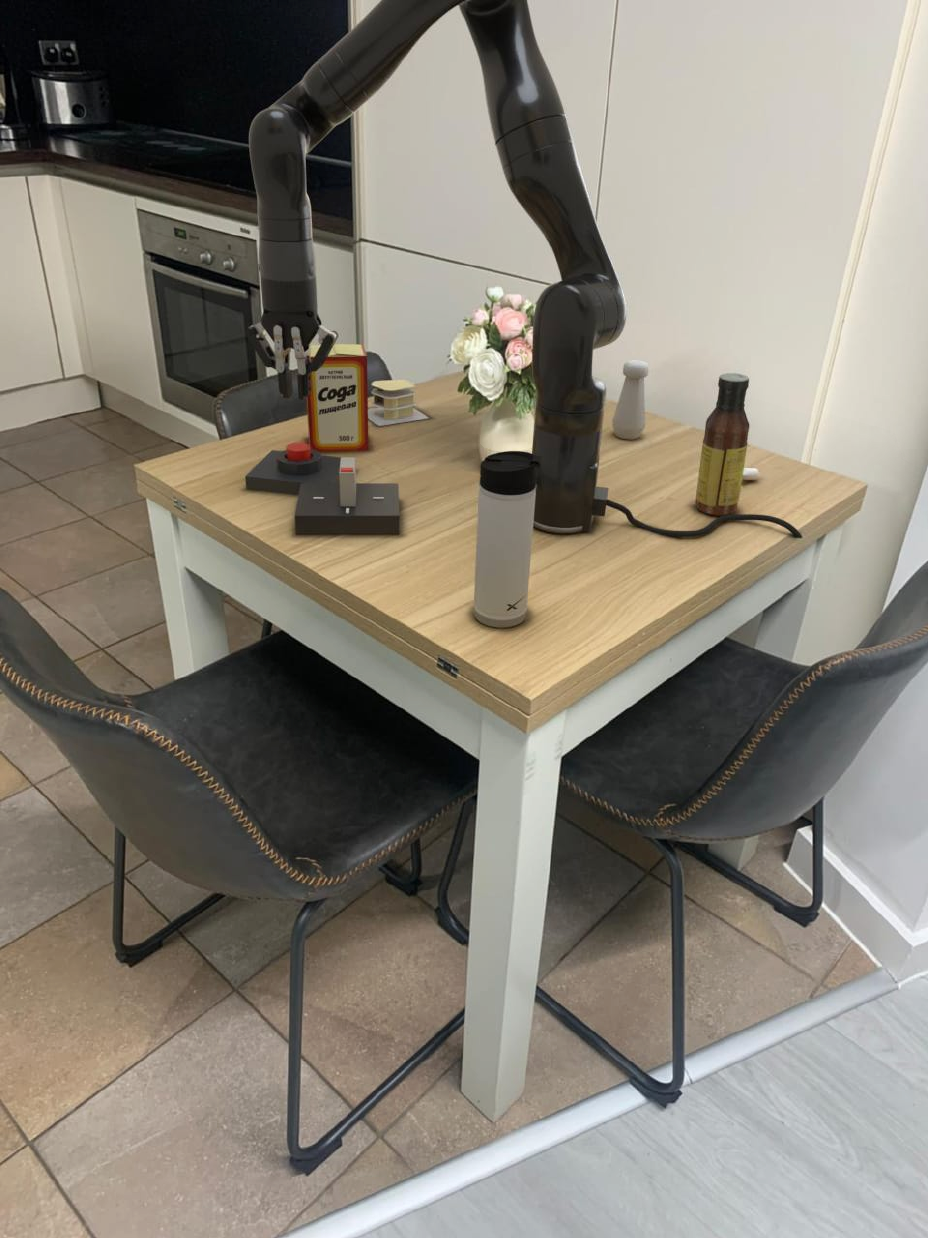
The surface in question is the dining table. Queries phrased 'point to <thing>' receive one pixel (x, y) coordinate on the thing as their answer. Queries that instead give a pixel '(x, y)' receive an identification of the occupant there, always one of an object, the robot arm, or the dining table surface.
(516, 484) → the travel mug
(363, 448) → the baking soda box
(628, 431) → the salt shaker
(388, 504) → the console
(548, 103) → the robot arm
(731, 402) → the sauce bottle
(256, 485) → the red button base
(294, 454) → the power button
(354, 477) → the grey block
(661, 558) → the dining table surface
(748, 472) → the small white plastic part
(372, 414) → the stacked layers on plate
